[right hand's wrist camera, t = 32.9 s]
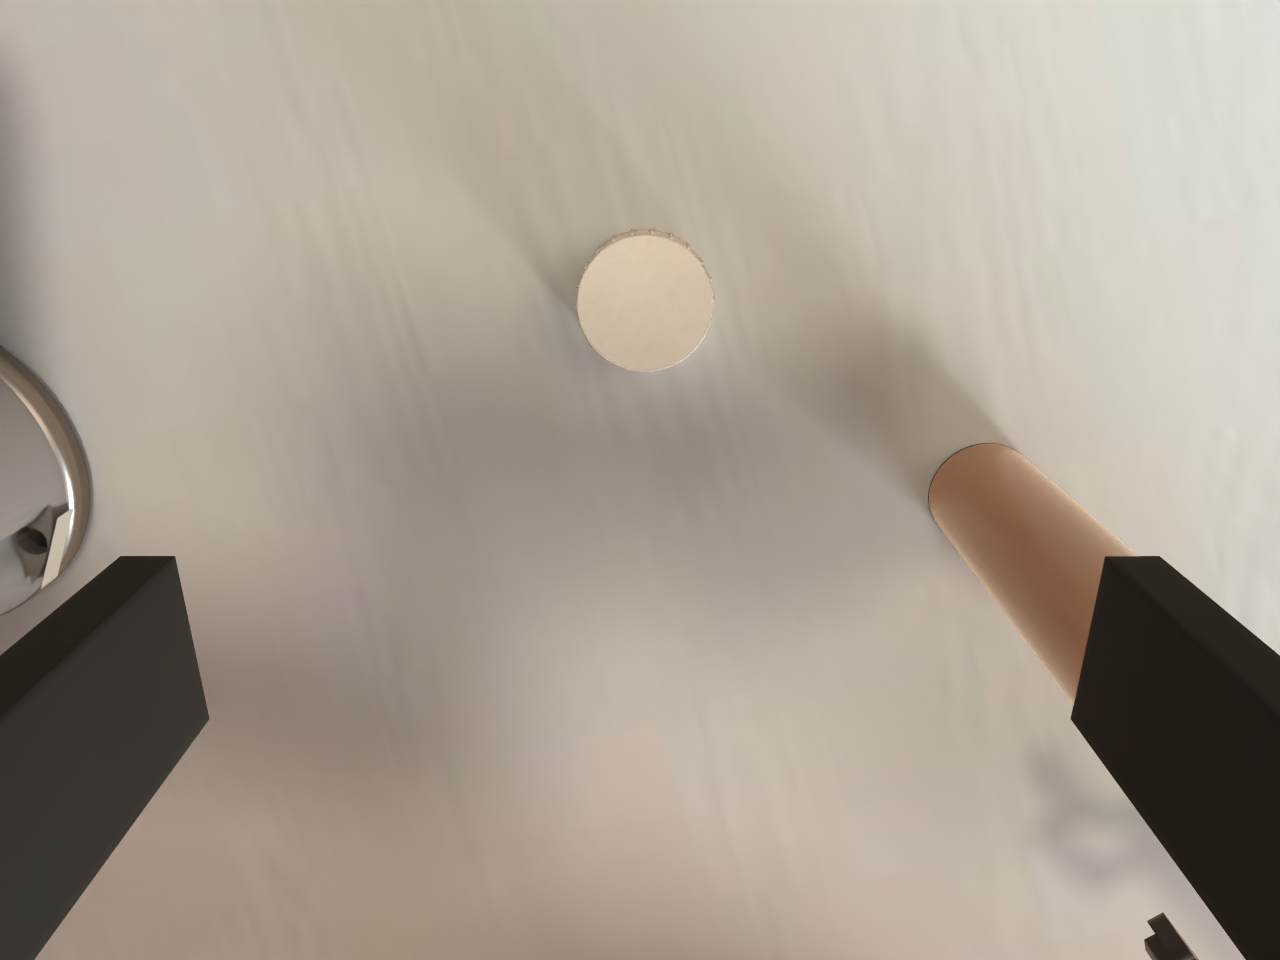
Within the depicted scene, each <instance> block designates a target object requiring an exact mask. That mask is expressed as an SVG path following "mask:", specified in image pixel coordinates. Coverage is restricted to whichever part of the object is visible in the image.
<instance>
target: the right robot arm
mask: <svg viewBox="0 0 1280 960" xmlns="http://www.w3.org/2000/svg"><path fill="white" fill-rule="evenodd" d="M89 503H90V495H89V482H88V475H87V469H86V465H85V461H84V458H83V454H82V451H81V449H80V446H79V443H78V440H77V438H76V436H75V434H74V432H73V430H72V428H71V425H70V424H69V422H68V420H67V418H66V417H65V415H64V413H63V412H62V410H61V408H60V407H59V406H58V404H57V403H56V401H55V400H54V398H53V397H52V396H51V394H50V393H49V392H48V391H47V389H46V388H45V387H44V386H43V385H42V383H41V382H40V381H39V380H38V379H37V378H36V377H35V376H34V375H33V374H32V373H31V372H30V371H29V370H28V369H27V368H26V367H25V366H24V365H23V364H22V363H21V362H20V361H19V360H17V359H16V358H15V357H14V356H13V355H12V354H10V353H9V352H8V351H6V350H5V349H4V348H2V347H1V346H0V616H1V615H3V614H6V613H8V612H10V611H12V610H13V609H15V608H17V607H19V606H20V605H22V604H23V603H24V602H26V601H27V600H29V599H30V598H31V597H33V596H34V595H35V594H36V593H38V592H39V591H40V590H42V589H43V588H44V587H45V586H47V585H48V584H49V583H51V582H52V581H53V580H54V579H55V578H56V577H57V576H58V575H59V574H61V573H62V571H63V570H64V569H65V568H66V567H67V565H68V564H69V563H70V562H71V560H72V558H73V557H74V555H75V554H76V552H77V550H78V548H79V546H80V544H81V541H82V539H83V536H84V533H85V530H86V526H87V521H88V515H89ZM208 720H209V715H208V711H207V706H206V701H205V696H204V692H203V687H202V682H201V677H200V673H199V668H198V663H197V658H196V654H195V649H194V644H193V640H192V635H191V630H190V625H189V621H188V616H187V611H186V606H185V602H184V597H183V592H182V587H181V583H180V578H179V573H178V569H177V564H176V559H175V556H120V557H119V558H118V559H117V560H115V561H114V562H113V563H112V564H111V565H109V566H108V567H107V568H106V569H105V570H103V571H102V572H101V573H100V574H98V575H97V576H96V577H95V578H94V579H92V580H91V581H90V582H89V583H88V584H86V585H85V586H84V587H83V588H82V589H80V590H79V591H78V592H77V593H76V594H74V595H73V596H72V597H71V598H69V599H68V600H67V601H66V602H65V603H63V604H62V605H61V606H60V607H59V608H57V609H56V610H55V611H54V612H53V613H51V614H50V615H49V616H48V617H46V618H45V619H44V620H43V621H42V622H40V623H39V624H38V625H37V626H36V627H34V628H33V629H32V630H31V631H30V632H28V633H27V634H26V635H25V636H23V637H22V638H21V639H20V640H19V641H17V642H16V643H15V644H14V645H13V646H11V647H10V648H9V649H8V650H7V651H5V652H4V653H3V654H2V655H1V656H0V960H34V959H35V958H36V956H37V955H38V954H39V952H40V951H41V950H42V948H43V947H44V945H45V944H46V943H47V941H48V940H49V939H50V937H51V936H52V934H53V933H54V932H55V930H56V929H57V928H58V926H59V925H60V923H61V922H62V921H63V919H64V918H65V917H66V915H67V914H68V912H69V911H70V910H71V908H72V907H73V906H74V904H75V903H76V901H77V900H78V899H79V897H80V896H81V895H82V893H83V892H84V890H85V889H86V888H87V886H88V885H89V884H90V882H91V881H92V879H93V878H94V877H95V875H96V874H97V873H98V871H99V870H100V868H101V867H102V866H103V864H104V863H105V862H106V860H107V859H108V857H109V856H110V855H111V853H112V852H113V851H114V849H115V848H116V846H117V845H118V844H119V842H120V841H121V840H122V838H123V837H124V835H125V834H126V833H127V831H128V830H129V829H130V827H131V826H132V824H133V823H134V822H135V820H136V819H137V818H138V816H139V815H140V813H141V812H142V811H143V809H144V808H145V807H146V805H147V804H148V802H149V801H150V800H151V798H152V797H153V796H154V794H155V793H156V791H157V790H158V789H159V787H160V786H161V785H162V783H163V782H164V781H165V779H166V778H167V776H168V775H169V774H170V772H171V771H172V770H173V768H174V767H175V765H176V764H177V763H178V761H179V760H180V759H181V757H182V756H183V754H184V753H185V752H186V750H187V749H188V748H189V746H190V745H191V743H192V742H193V741H194V739H195V738H196V737H197V735H198V734H199V732H200V731H201V730H202V728H203V727H204V726H205V724H206V723H207V721H208ZM1071 720H1072V721H1073V723H1074V724H1075V726H1076V727H1077V728H1078V730H1079V731H1080V732H1081V734H1082V735H1083V737H1084V738H1085V739H1086V741H1087V742H1088V743H1089V745H1090V746H1091V748H1092V749H1093V750H1094V752H1095V753H1096V754H1097V756H1098V757H1099V759H1100V760H1101V761H1102V763H1103V764H1104V765H1105V767H1106V768H1107V770H1108V771H1109V772H1110V774H1111V775H1112V776H1113V778H1114V779H1115V781H1116V782H1117V783H1118V785H1119V786H1120V787H1121V789H1122V790H1123V792H1124V793H1125V794H1126V796H1127V797H1128V798H1129V800H1130V801H1131V802H1132V804H1133V805H1134V807H1135V808H1136V809H1137V811H1138V812H1139V813H1140V815H1141V816H1142V818H1143V819H1144V820H1145V822H1146V823H1147V824H1148V826H1149V827H1150V829H1151V830H1152V831H1153V833H1154V834H1155V835H1156V837H1157V838H1158V840H1159V841H1160V842H1161V844H1162V845H1163V846H1164V848H1165V849H1166V851H1167V852H1168V853H1169V855H1170V856H1171V857H1172V859H1173V860H1174V862H1175V863H1176V864H1177V866H1178V867H1179V868H1180V870H1181V871H1182V873H1183V874H1184V875H1185V877H1186V878H1187V879H1188V881H1189V882H1190V884H1191V885H1192V886H1193V888H1194V889H1195V890H1196V892H1197V893H1198V895H1199V896H1200V897H1201V899H1202V900H1203V901H1204V903H1205V904H1206V906H1207V907H1208V908H1209V910H1210V911H1211V912H1212V914H1213V915H1214V917H1215V918H1216V919H1217V921H1218V922H1219V923H1220V925H1221V926H1222V928H1223V929H1224V930H1225V932H1226V933H1227V934H1228V936H1229V937H1230V939H1231V940H1232V941H1233V943H1234V944H1235V945H1236V947H1237V948H1238V950H1239V951H1240V952H1241V954H1242V955H1243V956H1244V958H1245V959H1246V960H1280V656H1279V655H1278V654H1277V653H1276V652H1275V651H1273V650H1272V649H1271V648H1270V647H1269V646H1267V645H1266V644H1265V643H1264V642H1263V641H1261V640H1260V639H1259V638H1258V637H1257V636H1255V635H1254V634H1253V633H1252V632H1250V631H1249V630H1248V629H1247V628H1246V627H1244V626H1243V625H1242V624H1241V623H1240V622H1238V621H1237V620H1236V619H1235V618H1234V617H1232V616H1231V615H1230V614H1229V613H1227V612H1226V611H1225V610H1224V609H1223V608H1221V607H1220V606H1219V605H1218V604H1217V603H1215V602H1214V601H1213V600H1212V599H1211V598H1209V597H1208V596H1207V595H1206V594H1204V593H1203V592H1202V591H1201V590H1200V589H1198V588H1197V587H1196V586H1195V585H1194V584H1192V583H1191V582H1190V581H1189V580H1188V579H1186V578H1185V577H1184V576H1183V575H1181V574H1180V573H1179V572H1178V571H1177V570H1175V569H1174V568H1173V567H1172V566H1171V565H1169V564H1168V563H1167V562H1166V561H1165V560H1163V559H1162V558H1161V557H1160V556H1105V559H1104V564H1103V569H1102V573H1101V578H1100V583H1099V587H1098V592H1097V597H1096V602H1095V606H1094V611H1093V616H1092V621H1091V625H1090V630H1089V635H1088V640H1087V644H1086V649H1085V654H1084V658H1083V663H1082V668H1081V673H1080V677H1079V682H1078V687H1077V692H1076V696H1075V701H1074V706H1073V711H1072V715H1071Z"/></svg>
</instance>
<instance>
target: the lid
mask: <svg viewBox="0 0 1280 960" xmlns="http://www.w3.org/2000/svg"><path fill="white" fill-rule="evenodd" d="M702 264H703V262H702V259H701V258H700V257H699V258H698V257H697V255H696V254H695V253H694V252H693V251H692V250H691V249H690V247H689V244H688V243H686V244H685V243H683V242H682V241H680V240H679V239H677V238H675V237H673V236H672V234H671V233H669V234H666V233H663V232H659V231H653V229H652V228H651V230H638V231H634V229H631V232H627V233H624V234H622V235H619V236H617V237H616V236H615V235H614V236H613V238H612V239H611V240H610V241H608V242H607V243H605V244H604V245H603V246H602V247H601V248H600V247H598V248H597V250H596V253H595V254H594V255H593V257H592V258H591V260H590V261H589V263H588V262H586V264H585V267H584V269H585V271H584V274H583V276H582V279H581V280H579V283H578V285H577V288H579V289H578V295H577V303H576V307H577V312H578V318H579V322H580V327H581V328H582V330H583V333H584V335H585V337H586V338H587V340H588V342H589V343H590V344H591V346H592V347H593V348H594V349H595V350H596V351H597V352H598V353H599V354H600V355H601V356H602V357H603V358H605V359H606V360H608V361H609V362H611V363H613V364H614V365H617V366H619V367H621V368H625V369H628V370H632V371H640V372H650V371H658V370H662V369H666V368H668V367H671V366H673V365H675V364H677V363H679V362H681V361H682V360H684V359H685V358H687V357H688V356H689V355H690V354H691V353H692V352H693V351H694V350H695V349H696V348H697V347H698V346H699V345H700V343H701V341H702V340H703V339H704V337H705V335H706V333H707V331H708V328H709V325H710V322H711V321H712V313H713V302H714V297H713V293H712V288H711V284H710V282H712V281H711V278H710V276H709V274H708V275H707V273H706V271H705V269H704V267H703V265H702Z"/></svg>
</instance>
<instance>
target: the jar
mask: <svg viewBox="0 0 1280 960" xmlns="http://www.w3.org/2000/svg"><path fill="white" fill-rule="evenodd" d="M929 507H930V511H931V514H932V516H933V518H934V520H935V522H936V523H937V525H938V526H939V527H940V529H941V530H942V531H943V533H944V534H945V535H946V537H947V538H948V539H949V541H950V542H951V543H952V545H953V546H954V547H955V549H956V550H957V551H958V553H959V554H960V555H961V557H962V558H963V559H964V561H965V562H966V563H967V565H968V566H969V567H970V569H971V570H972V571H973V573H974V574H975V575H976V577H977V578H978V579H979V581H980V582H981V583H982V585H983V586H984V587H985V589H986V590H987V591H988V593H989V594H990V595H991V597H992V598H993V599H994V601H995V602H996V603H997V605H998V606H999V607H1000V609H1001V610H1002V611H1003V613H1004V614H1005V615H1006V617H1007V618H1008V619H1009V621H1010V622H1011V623H1012V625H1013V626H1014V627H1015V629H1016V630H1017V631H1018V633H1019V634H1020V635H1021V637H1022V638H1023V639H1024V641H1025V642H1026V643H1027V645H1028V646H1029V648H1030V649H1031V650H1032V652H1033V653H1034V654H1035V656H1036V657H1037V658H1038V660H1039V661H1040V662H1041V664H1042V665H1043V666H1044V668H1045V669H1046V670H1047V672H1048V673H1049V674H1050V676H1051V677H1052V678H1053V680H1054V681H1055V682H1056V684H1057V685H1058V686H1059V688H1060V689H1061V690H1062V692H1063V693H1064V694H1065V696H1066V697H1067V698H1068V700H1069V701H1070V702H1071V704H1072V705H1073V706H1074V701H1075V696H1076V692H1077V687H1078V682H1079V677H1080V673H1081V668H1082V663H1083V658H1084V654H1085V649H1086V644H1087V640H1088V635H1089V630H1090V625H1091V621H1092V616H1093V611H1094V606H1095V602H1096V597H1097V592H1098V587H1099V583H1100V578H1101V573H1102V569H1103V564H1104V559H1105V556H1138V555H1137V554H1136V553H1135V552H1134V551H1132V550H1131V549H1130V548H1129V547H1128V546H1127V545H1125V544H1124V543H1123V542H1122V541H1121V540H1120V539H1118V538H1117V537H1116V536H1115V535H1114V534H1113V533H1111V532H1110V531H1109V530H1108V529H1107V528H1106V527H1105V526H1103V525H1102V524H1101V523H1100V522H1099V521H1098V520H1096V519H1095V518H1094V517H1093V516H1092V515H1091V514H1089V513H1088V512H1087V511H1086V510H1085V509H1084V508H1082V507H1081V506H1080V505H1079V504H1078V503H1077V502H1075V501H1074V500H1073V499H1072V498H1071V497H1070V496H1068V495H1067V494H1066V493H1065V492H1064V491H1063V490H1061V489H1060V488H1059V487H1058V486H1057V485H1056V484H1055V483H1053V482H1052V481H1051V480H1050V479H1049V478H1048V477H1046V476H1045V475H1044V474H1043V473H1042V472H1041V471H1039V470H1038V469H1037V468H1036V467H1035V466H1034V465H1032V464H1031V463H1030V462H1029V461H1028V460H1027V459H1025V458H1024V457H1023V456H1022V455H1021V454H1020V453H1018V452H1017V451H1015V450H1014V449H1011V448H1009V447H1007V446H1003V445H999V444H979V445H974V446H971V447H968V448H965V449H963V450H961V451H959V452H958V453H956V454H954V455H953V456H952V457H950V458H949V459H948V460H947V461H946V462H945V463H944V464H943V465H942V466H941V467H940V469H939V470H938V471H937V473H936V475H935V476H934V479H933V481H932V484H931V487H930V491H929Z"/></svg>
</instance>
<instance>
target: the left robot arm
mask: <svg viewBox="0 0 1280 960" xmlns="http://www.w3.org/2000/svg"><path fill="white" fill-rule="evenodd" d="M1147 922H1148V923H1149V925H1150V926H1151V928H1152V929H1153V931H1154V932H1155V934H1154V935H1152V936H1150V937H1149V938H1147V939H1145V940H1144V941H1145V949H1146V951H1147V953H1148V954H1149V956H1150V957H1151V959H1152V960H1199V959H1198V958H1197V957H1196V956H1195V954H1194V953H1193V952H1192V950H1191V949H1190V948H1189V946H1188V945H1187V944H1186V942H1185V941H1184V940H1183V938H1182V937H1181V936H1180V934H1179V933H1178V932H1177V930H1176V929H1175V928H1174V926H1173V925H1172V924H1171V922H1170V921H1169V920H1168V918H1167V917H1166V916H1165V914H1164V913H1161V914H1159V915H1157V916H1155V917H1154V918H1152V919H1150V920H1148V921H1147Z"/></svg>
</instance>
